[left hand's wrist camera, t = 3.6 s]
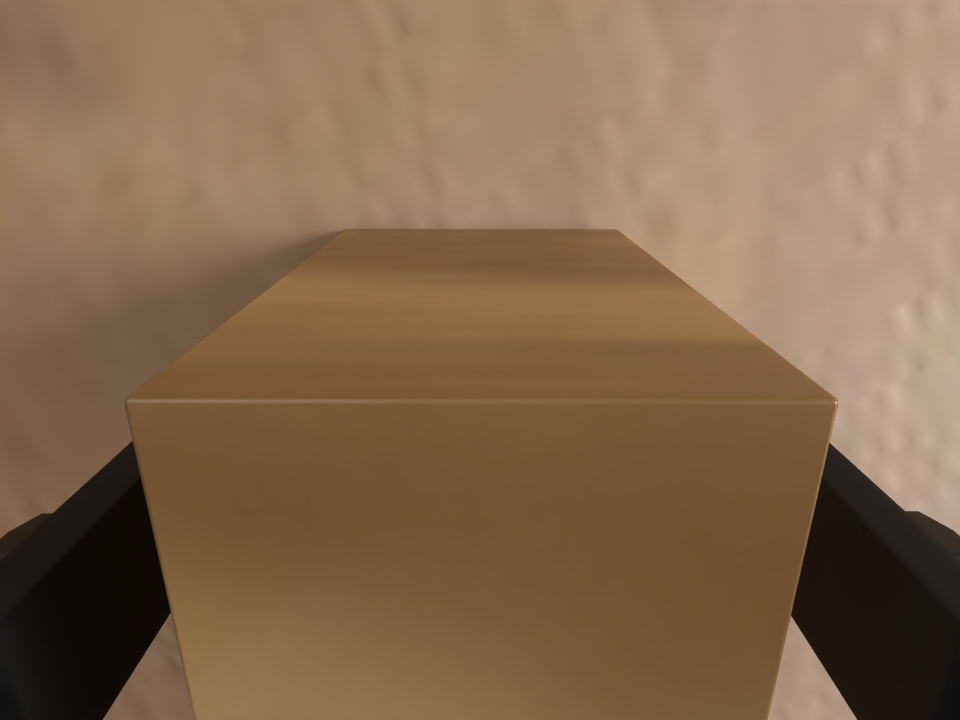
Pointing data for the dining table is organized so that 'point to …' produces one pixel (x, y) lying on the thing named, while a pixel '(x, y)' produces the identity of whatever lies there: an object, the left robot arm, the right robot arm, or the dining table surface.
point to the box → (481, 488)
